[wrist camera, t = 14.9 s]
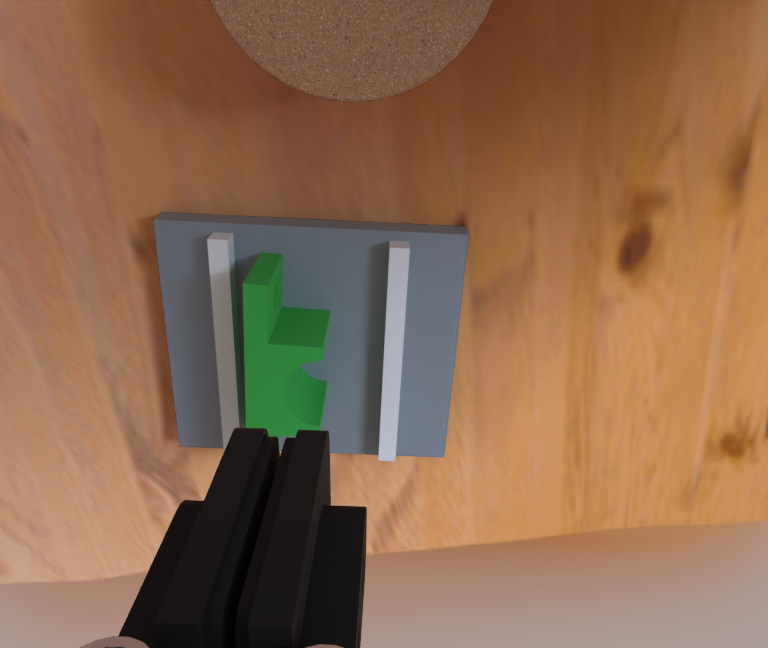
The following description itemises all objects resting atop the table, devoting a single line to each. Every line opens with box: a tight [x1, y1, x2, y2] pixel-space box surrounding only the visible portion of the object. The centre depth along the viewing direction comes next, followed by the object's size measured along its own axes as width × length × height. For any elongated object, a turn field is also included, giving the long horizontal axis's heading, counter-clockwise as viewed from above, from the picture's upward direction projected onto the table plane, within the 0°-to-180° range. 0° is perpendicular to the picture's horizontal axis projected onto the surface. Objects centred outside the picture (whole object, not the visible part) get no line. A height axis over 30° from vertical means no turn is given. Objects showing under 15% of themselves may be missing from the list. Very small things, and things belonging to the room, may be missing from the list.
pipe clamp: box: [243, 252, 330, 441], centre depth 32 cm, size 11×4×5 cm, turn 176°
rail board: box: [153, 212, 468, 461], centre depth 34 cm, size 16×14×3 cm
